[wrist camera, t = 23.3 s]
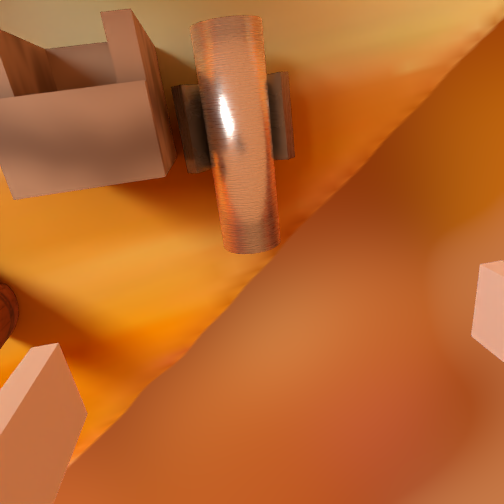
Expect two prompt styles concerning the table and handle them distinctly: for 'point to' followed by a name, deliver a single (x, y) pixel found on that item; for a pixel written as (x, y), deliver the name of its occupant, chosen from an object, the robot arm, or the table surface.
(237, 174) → the axle
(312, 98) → the table surface
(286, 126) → the v block
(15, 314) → the wooden figurine
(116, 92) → the brown open box
